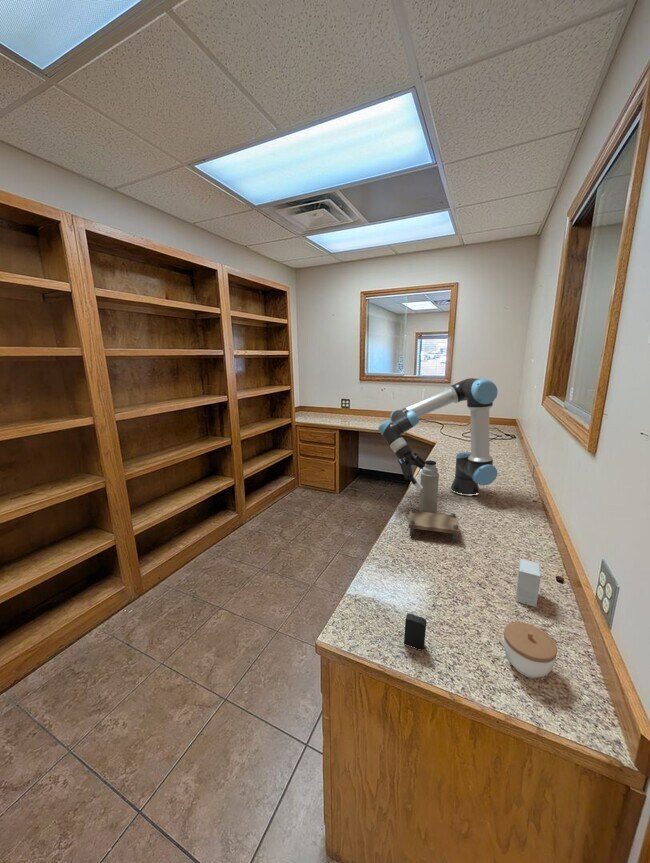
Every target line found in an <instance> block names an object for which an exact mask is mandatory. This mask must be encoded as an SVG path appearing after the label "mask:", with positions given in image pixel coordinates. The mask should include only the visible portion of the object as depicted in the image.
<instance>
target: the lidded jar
mask: <svg viewBox="0 0 650 863" xmlns="http://www.w3.org/2000/svg"><path fill="white" fill-rule="evenodd" d="M503 649H504V652H505V655H506V657H507V659H508V661H509V663H510V664H511V666H513V668H514V669H515V670H516V671H517V672H518V673H519V672H520V673H519V674H521V675H522V674H523V676H524V675H525V676H524V677H526V676H527V678H531V679H538V678H543V677H545V676H547V675H548V674H549V673H551V671H552V670H553V668H554V666H555V663H556V657H557V654H558V647H557V644H556V642H555V640H553V638H552V637H551V636H550V635H549V634H548V633H546V631H544V630H543V629H541V628H539V627H537V626H535V625H533V624H530V623H527V622H523V621H522V622H521V621H514V622H513V621H512V622H510V623H508V624H506V625H505V626H504V630H503Z"/></svg>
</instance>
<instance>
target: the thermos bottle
mask: <svg viewBox="0 0 650 863" xmlns="http://www.w3.org/2000/svg"><path fill="white" fill-rule="evenodd" d="M424 461H425V467H423V470H422V469H421V470H422V471H421V472H420V481H419V483H420V484H421V486H422V487H423V488H422V489H421V490H419V501H418V502H419V504H418V505H419V506H418V511H419V512H428V513H437V509H438V494H439V493H438V492H439V480H440V479H439V478H440V473H439V472H438V471H439V470H438V468H437V465H436V464H437V461H435V460H430V459H429V460H428V459H427V460H424ZM437 514H438V513H437Z"/></svg>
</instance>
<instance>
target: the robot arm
mask: <svg viewBox="0 0 650 863" xmlns="http://www.w3.org/2000/svg"><path fill="white" fill-rule="evenodd" d="M497 397H498V387H497V385H496V384H495V382H493V381H492V380H490V379H486V378H474V377H470V378H465V379H463V380H461V381H457V382H456V383H454V384H452V385H450V386H448V387H447V389H445V390H443V391H441V392H439V393H438V392H437V393H436V394H434V395H432V396H429V397H427V398H424V399H422V400H420V401H417V402H416V403H413V404H411V405H408V406H407V407H403V408H402V409H396V410H392V412H391V413H390V416H389V417H390V418H389V419H390V420H389V419H387V420H386V421H383V422H382V423H380V425H379V426H378V431H379V433H380V434H381V436H382V437H383V439H384V441H385V442H386V443H387V444H388V446H389V447H390V449H391V450H392V452H393V453H395V456H396V457H397V459H399V460H398V461H397V462H398V465H399V466H400V468H401V472H402V474H403V478H404V479H406V481H408V480H409V481H410V482H411V484H412V485H413V486H414V487H415V489H416V490H417V492H420V490H421V489H422V488H423V487H422V486H421V484H420V481H419V480H418V479H417V477H416V475H414V474H413V468H412V466H416V467H417V468H419V469H421V470H423V467H425V461H426V460H424V459H423V458H421V457H420V456H419V455H418V454H417V453H416V452H414V453H412V452H413V449H412V448H411V447H410V446H409V445H408V443H407V442H406V440H405V439H404V437H403V436H402V434H405V433H406V432H407V431H409V430H410V429H412V428H414V427H416V425H418V424H419V423H420V418H419V417H422V416H424V415H427V414H430V413H431V412H434V411H436V410H438V409H439V410H440V409H441V408H443V407H445V406H448V405H450V404H452V403H454V404H458V403H459V402H463V401H466V406H467V407H466V408H468V410H470V411H469V412H470V451H469V452H468V451H462V452H460V451H459V452H458V453H456V457H455V472H454V479H453V480H452V483H451V484H450V490H451V489H452V490H453V491H455V492H458V493H462V494H476V493H479V494H480V492H479V491H480V487H479V485H480V486H488V485H491V484H492V483H493V482H495V480H496V479H497V477H498V470H497V468H496V466H494V462H493V461H494V458H493V457H492V456H491V454H490V410H491V408H492V407H493V405H494V404H493V403H494V402H495V400H496V399H497Z"/></svg>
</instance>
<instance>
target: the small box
mask: <svg viewBox="0 0 650 863" xmlns="http://www.w3.org/2000/svg"><path fill="white" fill-rule="evenodd" d="M541 576H542V575H541V564H540V563H539V562H536V561H531V560H527V559H524V558H519V561H518V569H517V578H516V586H515V587H516V589H515V590H516V591H515V602H516V603H517V602H518V603H520V604H524V605H526V606H530V607H534V608H538V600H539V591H540V583H541Z"/></svg>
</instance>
